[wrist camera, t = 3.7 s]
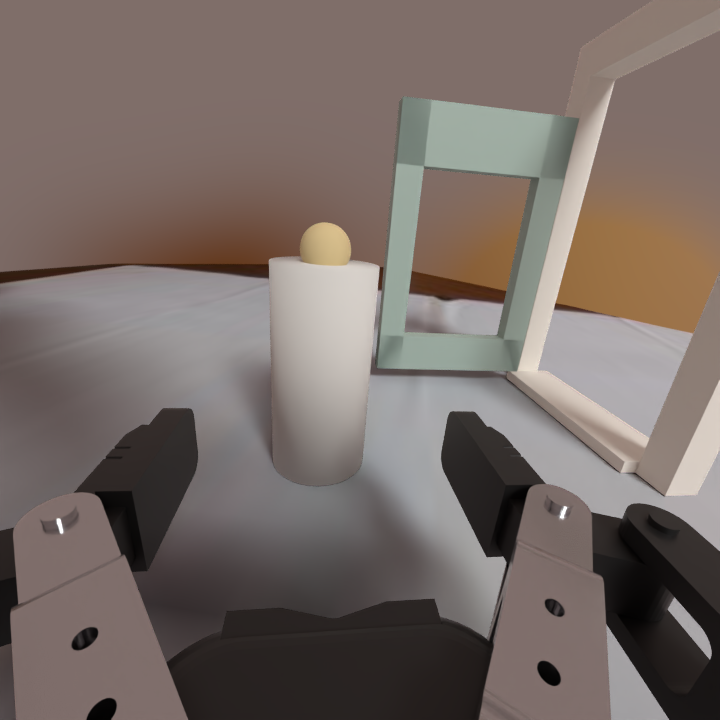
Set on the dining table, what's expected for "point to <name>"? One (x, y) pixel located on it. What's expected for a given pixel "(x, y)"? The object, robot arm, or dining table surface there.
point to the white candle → (320, 357)
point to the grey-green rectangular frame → (477, 156)
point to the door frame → (571, 408)
